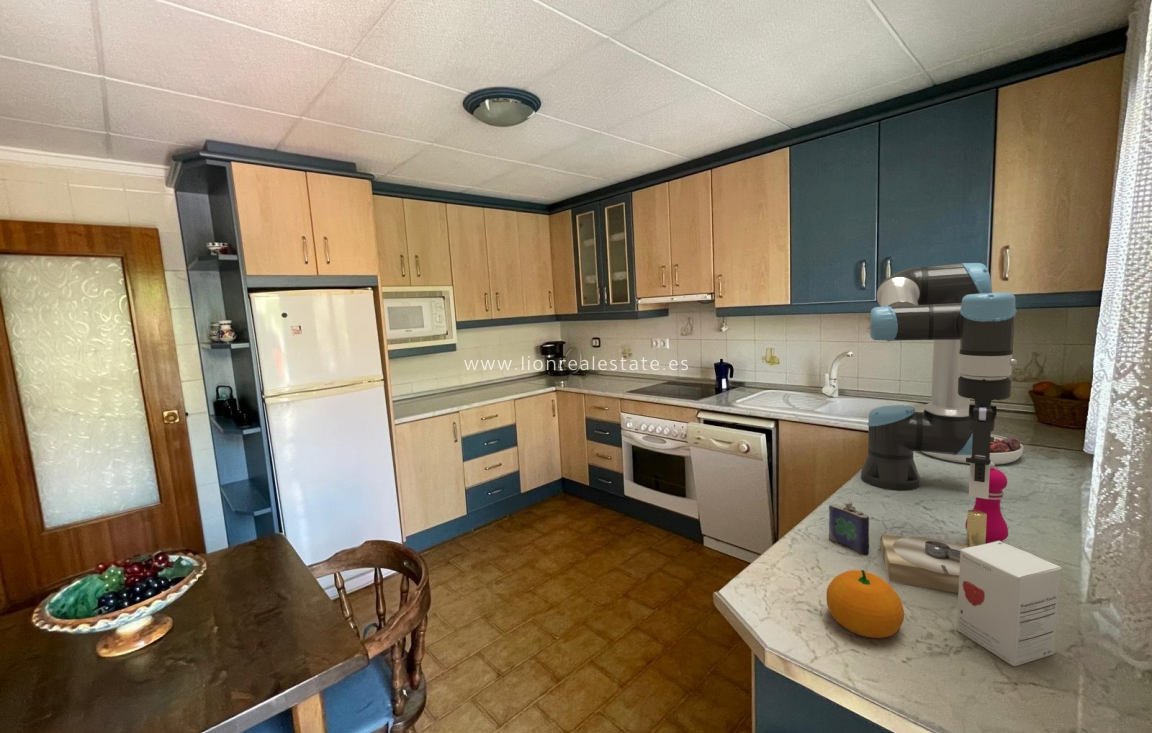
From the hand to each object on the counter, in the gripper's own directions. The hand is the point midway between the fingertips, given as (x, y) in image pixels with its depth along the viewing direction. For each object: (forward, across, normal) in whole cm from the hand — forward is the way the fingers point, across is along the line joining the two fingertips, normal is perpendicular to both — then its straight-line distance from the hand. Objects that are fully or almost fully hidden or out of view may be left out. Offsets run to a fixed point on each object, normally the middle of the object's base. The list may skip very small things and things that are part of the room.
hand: (978, 484), depth 90 cm
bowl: (+22, +93, +4) cm, 95 cm away
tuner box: (+20, -1, +6) cm, 21 cm away
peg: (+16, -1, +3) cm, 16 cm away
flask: (+20, +2, +22) cm, 30 cm away
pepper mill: (+21, +18, -2) cm, 27 cm away
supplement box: (+20, -18, -4) cm, 27 cm away
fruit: (+20, -26, +15) cm, 36 cm away
